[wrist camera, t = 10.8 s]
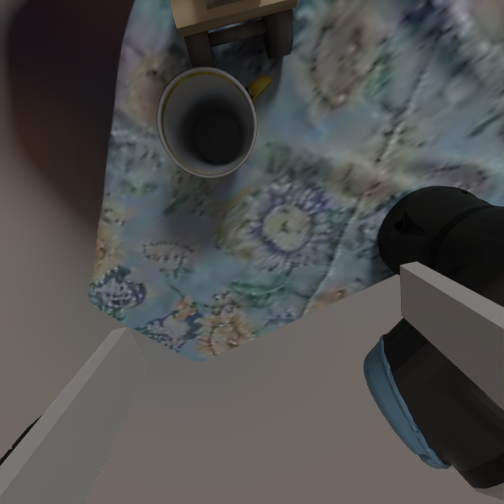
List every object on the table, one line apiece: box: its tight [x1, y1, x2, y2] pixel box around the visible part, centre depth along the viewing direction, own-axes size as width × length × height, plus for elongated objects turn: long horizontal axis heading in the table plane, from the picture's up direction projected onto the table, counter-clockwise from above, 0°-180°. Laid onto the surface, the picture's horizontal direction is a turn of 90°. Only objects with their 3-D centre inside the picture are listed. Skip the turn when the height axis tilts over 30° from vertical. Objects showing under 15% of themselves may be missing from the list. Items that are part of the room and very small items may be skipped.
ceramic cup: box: [157, 66, 272, 178], centre depth 28 cm, size 13×10×10 cm
